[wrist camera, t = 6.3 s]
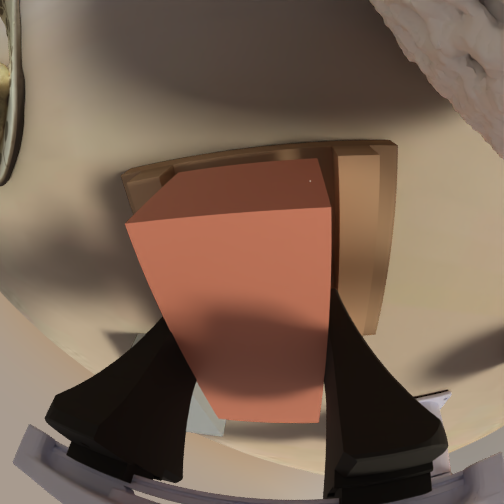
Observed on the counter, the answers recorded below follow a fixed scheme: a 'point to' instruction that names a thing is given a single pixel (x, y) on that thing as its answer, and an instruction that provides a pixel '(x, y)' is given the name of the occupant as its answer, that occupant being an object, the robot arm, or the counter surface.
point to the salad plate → (11, 91)
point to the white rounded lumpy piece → (456, 55)
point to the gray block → (200, 412)
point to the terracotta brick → (244, 283)
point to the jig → (341, 200)
